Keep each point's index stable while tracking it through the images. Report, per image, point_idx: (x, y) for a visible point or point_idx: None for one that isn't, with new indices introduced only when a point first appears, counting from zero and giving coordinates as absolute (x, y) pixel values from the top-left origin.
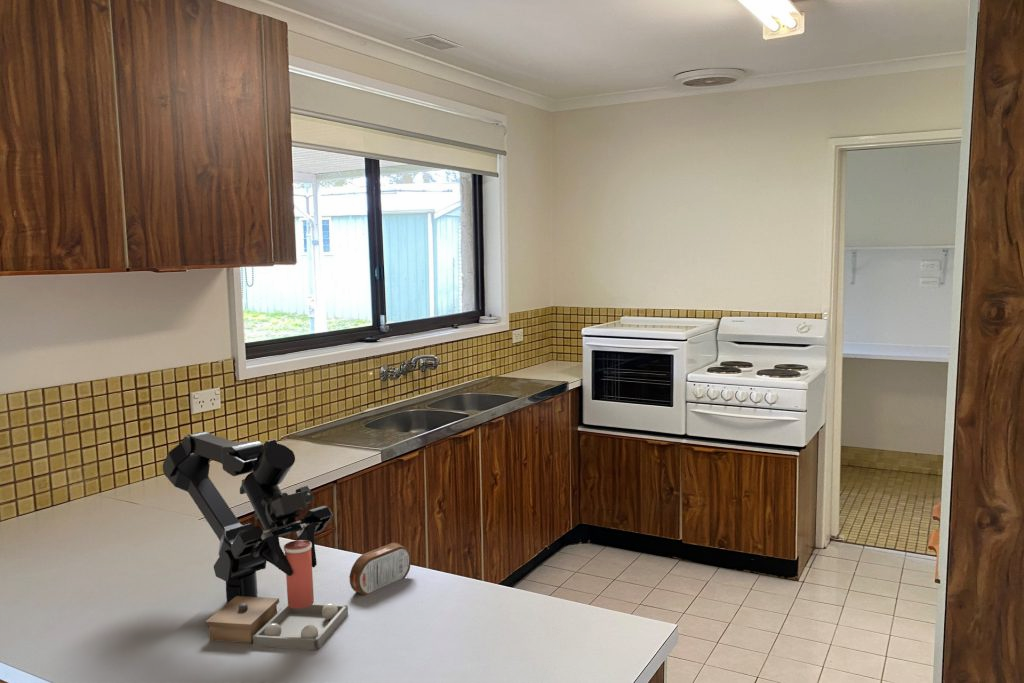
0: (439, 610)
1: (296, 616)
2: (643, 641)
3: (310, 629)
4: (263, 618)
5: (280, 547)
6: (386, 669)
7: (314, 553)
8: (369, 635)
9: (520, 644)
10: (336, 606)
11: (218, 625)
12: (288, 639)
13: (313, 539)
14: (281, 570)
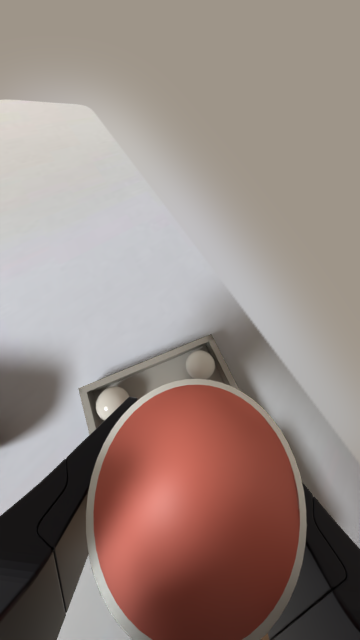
0: (12, 278)
1: None
2: (29, 108)
3: (206, 355)
4: None
5: (335, 585)
6: (185, 248)
7: (103, 428)
8: (126, 315)
9: (73, 172)
10: (102, 392)
11: None
12: (234, 380)
13: (19, 506)
14: None
